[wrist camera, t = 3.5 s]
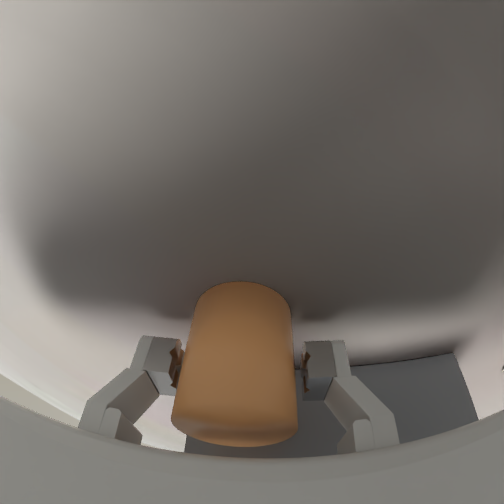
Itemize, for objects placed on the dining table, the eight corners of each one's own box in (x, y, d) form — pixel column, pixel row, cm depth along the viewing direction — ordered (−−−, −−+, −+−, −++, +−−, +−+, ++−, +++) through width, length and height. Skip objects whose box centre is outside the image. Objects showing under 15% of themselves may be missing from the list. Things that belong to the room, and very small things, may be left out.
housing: (198, 367, 14) (179, 483, 9) (453, 352, 14) (485, 443, 8) (226, 450, 24) (221, 508, 18) (375, 442, 23) (383, 497, 18)
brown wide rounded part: (187, 280, 11) (155, 397, 7) (294, 281, 11) (305, 405, 7) (202, 344, 13) (185, 442, 9) (287, 346, 13) (291, 446, 9)
